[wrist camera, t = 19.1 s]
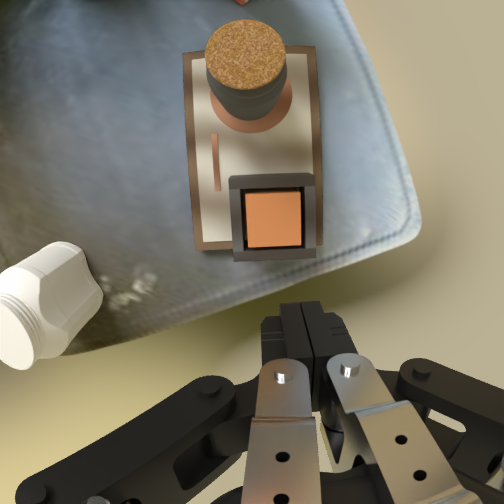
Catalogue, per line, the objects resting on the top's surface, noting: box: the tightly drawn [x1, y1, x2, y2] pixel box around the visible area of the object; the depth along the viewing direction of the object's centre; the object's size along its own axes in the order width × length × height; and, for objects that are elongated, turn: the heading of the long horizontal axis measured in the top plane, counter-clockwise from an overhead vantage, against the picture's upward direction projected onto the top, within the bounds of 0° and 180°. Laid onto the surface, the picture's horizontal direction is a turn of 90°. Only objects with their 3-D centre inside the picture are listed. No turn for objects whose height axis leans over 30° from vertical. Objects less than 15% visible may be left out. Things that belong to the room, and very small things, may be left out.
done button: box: [245, 187, 301, 247], centre depth 32 cm, size 5×5×4 cm
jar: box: [0, 242, 103, 370], centre depth 32 cm, size 12×10×15 cm
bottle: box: [205, 19, 287, 121], centre depth 23 cm, size 6×6×15 cm
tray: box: [183, 46, 323, 262], centre depth 31 cm, size 22×14×6 cm, turn 3°
